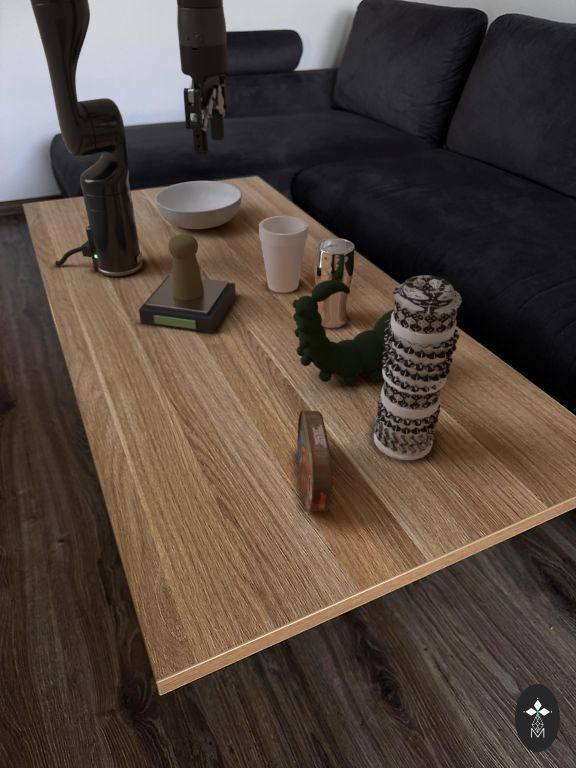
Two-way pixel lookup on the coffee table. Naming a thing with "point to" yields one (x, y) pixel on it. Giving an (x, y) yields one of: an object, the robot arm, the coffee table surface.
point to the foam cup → (283, 251)
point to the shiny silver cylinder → (334, 277)
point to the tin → (314, 461)
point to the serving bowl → (198, 204)
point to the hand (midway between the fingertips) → (210, 146)
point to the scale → (189, 314)
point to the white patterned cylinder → (415, 365)
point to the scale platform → (195, 306)
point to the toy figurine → (345, 354)
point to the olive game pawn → (185, 268)
